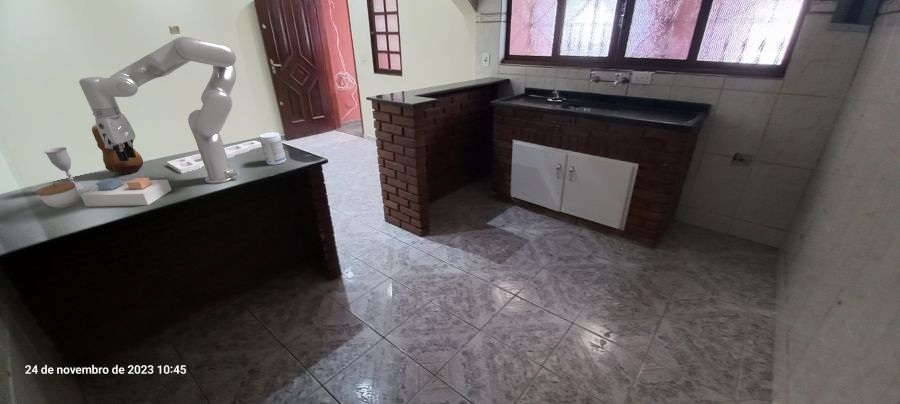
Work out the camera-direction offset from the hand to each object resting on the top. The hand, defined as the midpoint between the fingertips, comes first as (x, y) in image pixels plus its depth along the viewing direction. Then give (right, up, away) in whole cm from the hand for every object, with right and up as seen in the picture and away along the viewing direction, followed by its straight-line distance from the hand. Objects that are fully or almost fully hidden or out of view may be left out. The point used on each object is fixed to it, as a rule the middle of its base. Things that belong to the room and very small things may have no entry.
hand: (128, 158), depth 139 cm
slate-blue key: (-12, -11, +5) cm, 17 cm away
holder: (+3, +7, +53) cm, 53 cm away
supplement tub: (+37, +4, +45) cm, 58 cm away
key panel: (-6, -16, +8) cm, 18 cm away
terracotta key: (0, -11, +6) cm, 12 cm away
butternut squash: (-30, -3, +33) cm, 45 cm away
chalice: (-38, -11, +17) cm, 43 cm away
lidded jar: (-28, -19, +3) cm, 33 cm away
